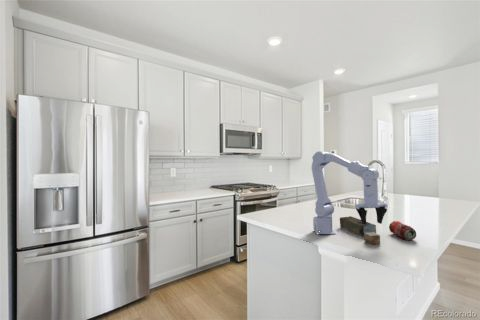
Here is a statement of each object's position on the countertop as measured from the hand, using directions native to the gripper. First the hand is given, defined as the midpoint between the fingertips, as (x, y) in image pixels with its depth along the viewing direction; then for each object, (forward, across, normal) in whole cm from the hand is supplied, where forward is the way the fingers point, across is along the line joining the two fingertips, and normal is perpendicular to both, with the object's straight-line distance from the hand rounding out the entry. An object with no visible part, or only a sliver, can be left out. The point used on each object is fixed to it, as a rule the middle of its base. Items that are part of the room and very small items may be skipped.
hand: (371, 223), depth 109 cm
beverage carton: (+10, +3, +18) cm, 21 cm away
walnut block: (+9, 0, 0) cm, 9 cm away
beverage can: (+10, +20, +6) cm, 23 cm away
